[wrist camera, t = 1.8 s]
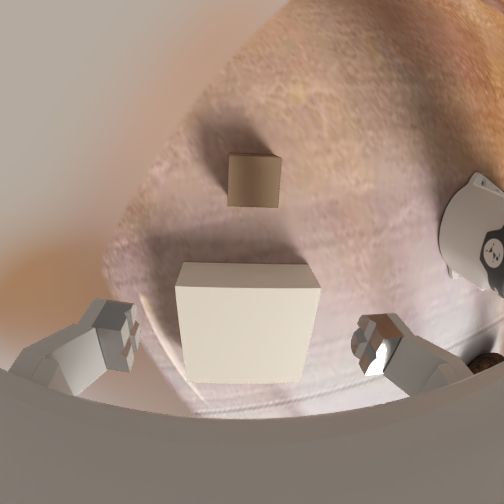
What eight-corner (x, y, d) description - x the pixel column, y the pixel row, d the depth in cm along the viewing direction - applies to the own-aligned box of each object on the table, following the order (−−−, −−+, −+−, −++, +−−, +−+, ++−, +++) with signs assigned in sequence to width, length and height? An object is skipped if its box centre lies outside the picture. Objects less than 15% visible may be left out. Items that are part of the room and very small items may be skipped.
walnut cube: (274, 154, 30) (281, 158, 25) (271, 197, 32) (278, 207, 27) (230, 152, 29) (229, 155, 25) (228, 195, 31) (227, 206, 27)
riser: (308, 264, 35) (321, 288, 30) (292, 353, 42) (299, 381, 36) (183, 261, 34) (174, 286, 29) (191, 353, 40) (187, 382, 35)
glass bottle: (459, 392, 58) (495, 453, 32) (442, 384, 53) (486, 458, 27) (497, 352, 53) (541, 408, 27) (487, 335, 48) (542, 403, 22)
